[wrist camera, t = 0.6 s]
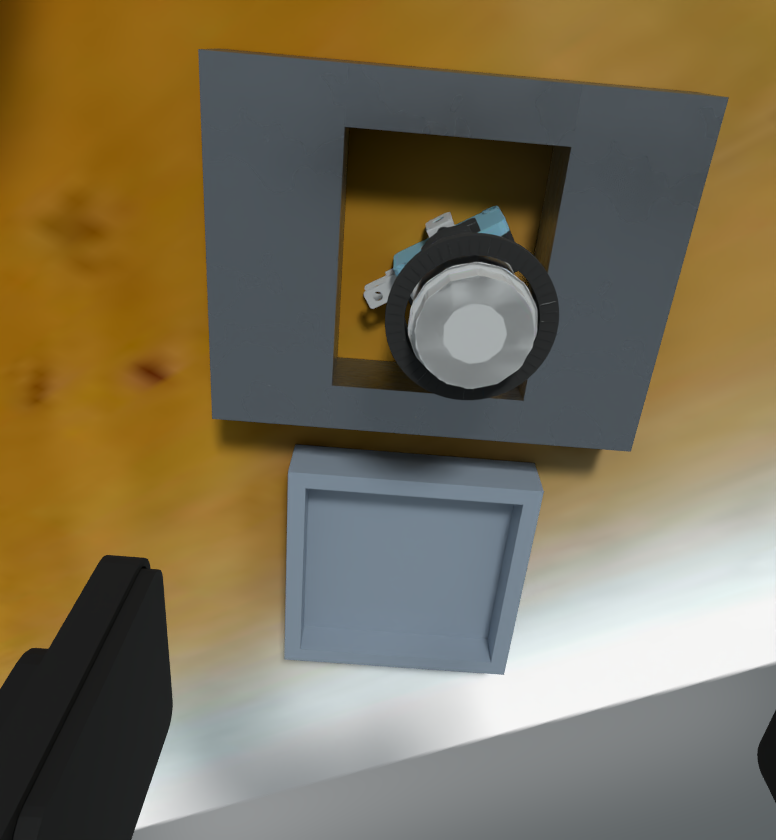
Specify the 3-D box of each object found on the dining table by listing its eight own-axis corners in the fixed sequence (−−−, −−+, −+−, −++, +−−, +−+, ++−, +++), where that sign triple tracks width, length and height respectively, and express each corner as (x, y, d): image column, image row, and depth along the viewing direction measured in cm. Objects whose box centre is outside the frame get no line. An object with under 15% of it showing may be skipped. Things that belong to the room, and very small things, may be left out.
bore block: (696, 92, 27) (728, 97, 24) (612, 419, 34) (630, 451, 31) (218, 48, 27) (198, 49, 24) (227, 388, 33) (212, 418, 31)
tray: (534, 462, 35) (543, 491, 33) (498, 639, 40) (503, 674, 38) (295, 444, 34) (288, 472, 32) (291, 625, 40) (284, 659, 38)
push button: (394, 340, 32) (392, 455, 23) (338, 232, 30) (312, 313, 21) (535, 277, 31) (590, 372, 22) (487, 158, 28) (527, 211, 19)
